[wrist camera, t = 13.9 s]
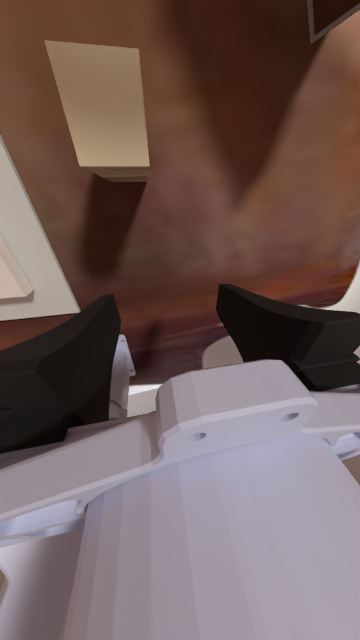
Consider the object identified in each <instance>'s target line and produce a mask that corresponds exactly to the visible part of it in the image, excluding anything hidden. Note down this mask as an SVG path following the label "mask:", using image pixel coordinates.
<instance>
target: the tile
mask: <svg viewBox="0 0 360 640" xmlns="http://www.w3.org/2000/svg"><path fill="white" fill-rule="evenodd" d="M32 291H33V288H32V287H31V285H30V284H29V282H28V280H27V279H26V277H25V275H24V274H23V272H22V270H21V269H20V267H19V265H18V264H17V262H16V260H15V259H14V257H13V255H12V254H11V252H10V251H9V249H8V247H7V246H6V244H5V242H4V241H3V239H2V237H1V236H0V299H2V298H13V297H24V296H27V295H28V294H30V293H31V292H32Z"/></svg>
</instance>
